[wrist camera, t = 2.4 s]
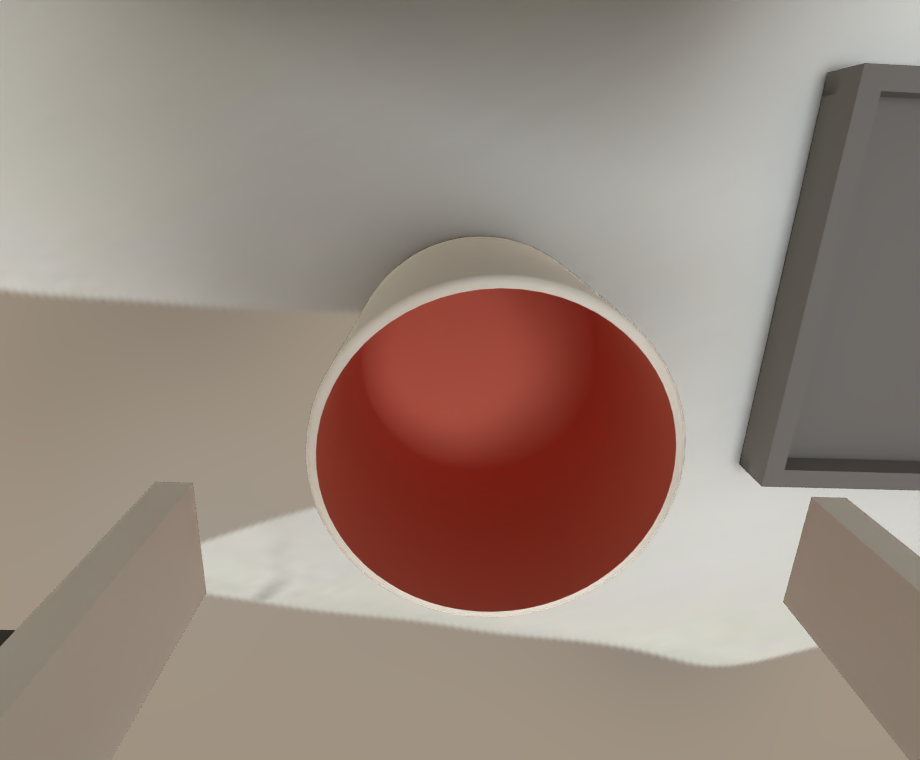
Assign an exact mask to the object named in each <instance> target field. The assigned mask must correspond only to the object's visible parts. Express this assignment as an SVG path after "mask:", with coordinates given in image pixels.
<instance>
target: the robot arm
mask: <svg viewBox="0 0 920 760" xmlns="http://www.w3.org/2000/svg"><path fill="white" fill-rule="evenodd" d="M205 594H206V587H205V578H204V570H203V562H202V554H201V545H200V537H199V529H198V521H197V513H196V504H195V496H194V487H193V483H178V482H177V483H176V482H155V483H154V484H153V485H152V486H151V487H150V488H149V489H148V490H147V491H146V492H145V493H144V494H143V495H142V497H141V498H140V499H139V500H138V501H137V502H136V503H135V504H134V505H133V506H132V507H131V508H130V509H129V511H128V512H127V513H126V514H125V515H124V516H123V517H122V518H121V519H120V520H119V521H118V522H117V523H116V524H115V525H114V526H113V527H112V528H111V529H110V531H109V532H108V533H107V534H106V535H105V536H104V537H103V538H102V539H101V540H100V541H99V542H98V543H97V544H96V545H95V547H94V548H93V549H92V550H91V551H90V552H89V553H88V554H87V555H86V556H85V557H84V558H83V559H82V560H81V561H80V562H79V564H78V565H77V566H76V567H75V568H74V569H73V570H72V571H71V572H70V573H69V574H68V575H67V576H66V577H65V578H64V579H63V580H62V582H61V583H60V584H59V585H58V586H57V587H56V588H55V589H54V590H53V591H52V592H51V593H50V594H49V595H48V596H47V597H46V598H45V600H44V601H43V602H42V603H41V604H40V605H39V606H38V607H37V608H36V609H35V610H34V611H33V613H32V614H31V615H29V617H28V618H27V619H26V620H25V621H24V622H23V623H22V624H21V625H20V626H19V627H18V628H17V629H16V630H0V760H111V759H112V758H113V756H114V754H115V752H116V751H117V749H118V747H119V745H120V743H121V742H122V740H123V738H124V736H125V735H126V733H127V731H128V729H129V728H130V726H131V724H132V722H133V721H134V719H135V717H136V715H137V714H138V712H139V710H140V708H141V707H142V705H143V703H144V701H145V700H146V698H147V696H148V694H149V692H150V691H151V689H152V687H153V685H154V684H155V682H156V680H157V678H158V677H159V675H160V673H161V671H162V670H163V668H164V666H165V664H166V662H167V661H168V659H169V657H170V656H171V654H172V652H173V650H174V649H175V647H176V645H177V643H178V642H179V640H180V638H181V636H182V634H183V633H184V631H185V629H186V627H187V626H188V624H189V622H190V620H191V619H192V617H193V615H194V613H195V612H196V610H197V608H198V606H199V605H200V603H201V601H202V599H203V598H204V596H205ZM783 602H784V604H785V605H786V606H787V607H788V609H789V610H790V611H791V612H792V614H793V615H794V616H795V617H796V619H797V620H798V621H799V622H800V624H801V625H802V626H803V627H804V629H805V630H806V631H807V632H808V634H809V635H810V636H811V637H812V639H813V640H814V641H815V643H816V644H817V645H818V646H819V648H820V649H821V650H822V651H823V652H824V654H825V655H826V656H827V657H828V659H829V660H830V661H831V663H832V664H833V665H834V666H835V668H836V669H837V670H838V671H839V672H840V674H841V675H842V676H843V678H844V679H845V680H846V681H847V683H848V684H849V685H850V686H851V688H852V689H853V690H854V691H855V692H856V694H857V695H858V696H859V698H860V699H861V700H862V701H863V703H864V704H865V705H866V706H867V707H868V709H869V710H870V711H871V713H872V714H873V715H874V716H875V718H876V719H877V720H878V721H879V723H880V724H881V725H882V726H883V728H884V729H885V730H886V731H887V733H888V734H889V735H890V736H891V738H892V739H893V740H894V741H895V743H896V744H897V745H898V746H899V748H900V749H901V750H902V751H903V753H904V754H905V755H906V756H907V758H908V759H909V760H920V557H919V556H918V555H917V554H916V553H914V552H913V551H912V550H911V549H909V548H908V547H907V546H906V545H904V544H903V543H902V542H901V541H899V540H898V539H897V538H896V537H894V536H893V535H892V534H891V533H889V532H888V531H887V530H886V529H884V528H883V527H882V526H881V525H879V524H878V523H877V522H876V521H874V520H873V519H872V518H871V517H869V516H868V515H867V514H866V513H864V512H863V511H862V510H861V509H859V508H858V507H857V506H856V505H854V504H853V503H852V502H851V501H849V500H848V499H847V498H828V497H811V501H810V504H809V508H808V512H807V516H806V519H805V523H804V527H803V530H802V534H801V538H800V541H799V545H798V549H797V553H796V556H795V560H794V564H793V567H792V571H791V575H790V578H789V582H788V586H787V590H786V593H785V597H784V601H783Z"/></svg>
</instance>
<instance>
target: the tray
mask: <svg viewBox="0 0 920 760" xmlns="http://www.w3.org/2000/svg"><path fill="white" fill-rule="evenodd" d="M740 465H741V466H742V467H743V468H744V469H745V470H746V471H747V472H748V473H749V474H750V475H751V476H752V477H753V478H754V479H755V480H756V481H757V482H758V483H759V484H760V485H761V486H765V487H805V488H845V489H885V490H920V66H907V65H888V64H869V63H864V64H860V65H856V66H852V67H848V68H844V69H840V70H836V71H832V72H829V73H828V74H827V79H826V83H825V87H824V92H823V96H822V101H821V105H820V110H819V114H818V118H817V123H816V127H815V132H814V136H813V141H812V145H811V149H810V154H809V158H808V163H807V167H806V172H805V176H804V180H803V185H802V189H801V194H800V198H799V203H798V207H797V211H796V216H795V220H794V225H793V229H792V234H791V238H790V243H789V247H788V251H787V256H786V260H785V265H784V269H783V274H782V278H781V282H780V287H779V291H778V296H777V300H776V305H775V309H774V313H773V318H772V322H771V327H770V331H769V336H768V340H767V344H766V349H765V353H764V358H763V362H762V367H761V371H760V375H759V380H758V384H757V389H756V393H755V398H754V402H753V406H752V411H751V415H750V420H749V424H748V429H747V433H746V437H745V442H744V446H743V451H742V455H741V460H740Z"/></svg>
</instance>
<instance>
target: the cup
mask: <svg viewBox="0 0 920 760" xmlns="http://www.w3.org/2000/svg"><path fill="white" fill-rule="evenodd" d="M684 454H685V427H684V417H683V412H682V407H681V402H680V398H679V395H678V392H677V389H676V386H675V384H674V381H673V379H672V377H671V374H670V372H669V370H668V368H667V366H666V364H665V363H664V361H663V360H662V358H661V356H660V355H659V353H658V352H657V350H656V349H655V347H654V346H653V345H652V344H651V342H650V341H649V340H648V339H647V338H646V336H645V335H644V334H643V333H642V332H641V331H640V330H639V329H638V328H637V327H636V326H635V325H634V324H633V323H632V322H631V321H630V320H629V319H627V318H626V317H625V316H624V315H622V314H621V313H620V312H619V311H617V310H616V309H615V308H614V307H613V306H611V305H610V304H609V303H608V302H606V301H605V300H604V299H603V298H602V297H600V296H599V295H598V294H597V293H595V292H594V291H593V290H592V289H591V288H589V287H588V286H587V285H586V284H584V283H583V282H582V281H581V280H579V279H578V278H577V277H576V276H574V275H573V274H572V273H571V272H569V271H568V270H567V269H566V268H564V267H563V266H562V265H561V264H560V263H558V262H557V261H556V260H554V259H553V258H551V257H550V256H548V255H547V254H545V253H543V252H541V251H539V250H537V249H535V248H533V247H531V246H528V245H526V244H523V243H520V242H516V241H513V240H508V239H504V238H497V237H481V236H477V237H464V238H458V239H453V240H449V241H445V242H441V243H438V244H436V245H433V246H430V247H428V248H426V249H424V250H422V251H420V252H418V253H416V254H414V255H413V256H411V257H410V258H408V259H407V260H405V261H404V262H403V263H401V264H400V265H399V266H397V267H396V268H395V269H394V270H393V271H392V272H391V273H390V274H389V275H387V276H386V278H385V279H384V280H383V281H382V282H381V283H380V284H379V286H378V287H377V289H376V290H375V291H374V293H373V294H372V296H371V297H370V299H369V301H368V302H367V304H366V306H365V307H364V309H363V311H362V313H361V314H360V316H359V318H358V320H357V321H356V323H355V324H354V326H353V328H352V330H351V331H350V333H349V335H348V336H347V338H346V340H345V342H344V343H343V345H342V347H341V349H340V350H339V352H338V354H337V355H336V357H335V359H334V360H333V362H332V364H331V365H330V367H329V369H328V371H327V372H326V374H325V376H324V378H323V380H322V382H321V384H320V386H319V389H318V391H317V393H316V396H315V399H314V402H313V405H312V408H311V412H310V417H309V422H308V427H307V437H306V467H307V473H308V479H309V484H310V489H311V493H312V496H313V499H314V502H315V505H316V508H317V510H318V512H319V515H320V517H321V519H322V521H323V523H324V525H325V527H326V528H327V530H328V532H329V533H330V535H331V536H332V538H333V540H334V541H335V542H336V544H337V545H338V546H339V548H340V549H341V550H342V551H343V553H344V554H345V555H346V556H347V557H348V558H349V559H350V560H351V561H352V562H353V563H354V564H355V565H356V567H358V568H359V569H360V570H361V571H362V572H364V573H365V574H366V575H367V576H368V577H369V578H371V579H372V580H374V581H375V582H377V583H378V584H379V585H381V586H382V587H384V588H385V589H387V590H389V591H391V592H392V593H394V594H396V595H398V596H400V597H402V598H404V599H406V600H408V601H411V602H413V603H416V604H419V605H421V606H424V607H427V608H431V609H434V610H437V611H442V612H446V613H450V614H457V615H463V616H474V617H506V616H516V615H523V614H529V613H533V612H538V611H542V610H546V609H549V608H553V607H556V606H559V605H561V604H564V603H567V602H569V601H572V600H574V599H576V598H578V597H581V596H582V595H584V594H586V593H588V592H589V591H591V590H593V589H595V588H597V587H598V586H600V585H602V584H604V583H605V582H606V581H608V580H609V579H611V578H612V577H613V576H615V575H616V574H618V573H619V572H620V571H621V570H622V569H623V568H625V567H626V566H627V565H628V564H629V563H630V562H631V561H632V560H633V559H634V558H635V557H636V556H637V555H638V554H639V553H640V552H641V551H642V550H643V549H644V548H645V546H646V545H647V544H648V543H649V541H650V540H651V539H652V537H653V536H654V535H655V533H656V532H657V530H658V529H659V527H660V525H661V524H662V522H663V520H664V519H665V517H666V515H667V513H668V511H669V509H670V507H671V504H672V502H673V500H674V498H675V495H676V491H677V488H678V485H679V482H680V479H681V474H682V468H683V463H684Z"/></svg>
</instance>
